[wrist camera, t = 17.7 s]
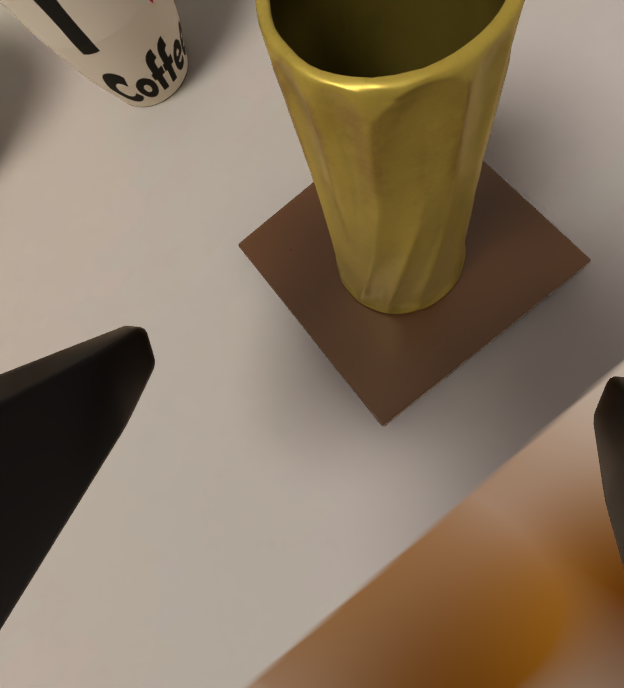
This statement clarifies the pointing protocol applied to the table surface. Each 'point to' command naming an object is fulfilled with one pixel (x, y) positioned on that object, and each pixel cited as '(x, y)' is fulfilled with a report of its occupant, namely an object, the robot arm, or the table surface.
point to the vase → (393, 129)
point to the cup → (113, 43)
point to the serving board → (423, 325)
